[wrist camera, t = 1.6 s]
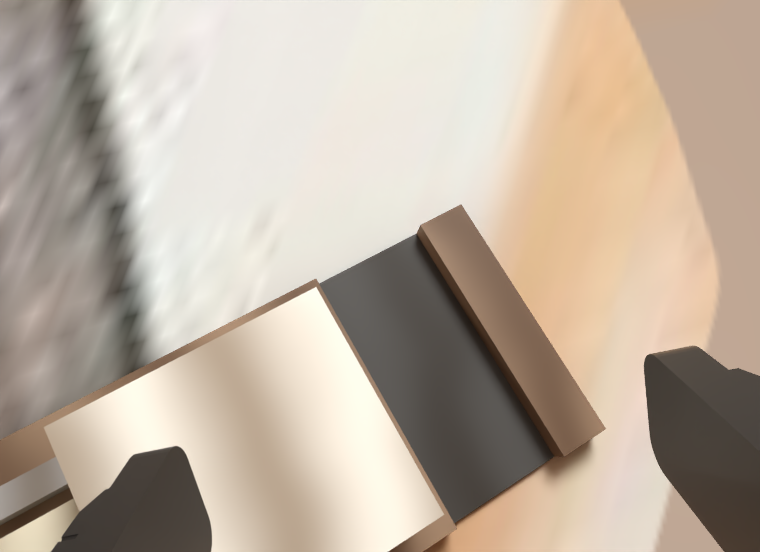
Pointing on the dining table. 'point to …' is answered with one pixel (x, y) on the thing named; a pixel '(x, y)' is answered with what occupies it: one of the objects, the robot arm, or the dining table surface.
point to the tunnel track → (332, 408)
